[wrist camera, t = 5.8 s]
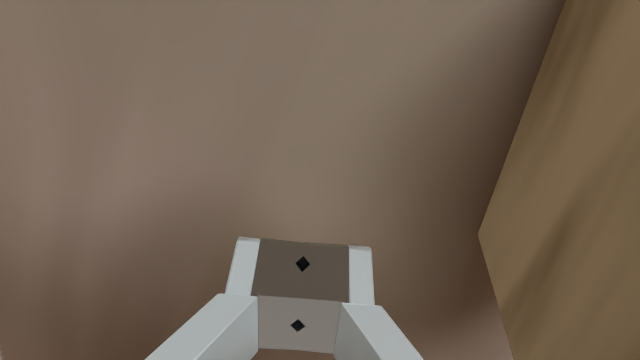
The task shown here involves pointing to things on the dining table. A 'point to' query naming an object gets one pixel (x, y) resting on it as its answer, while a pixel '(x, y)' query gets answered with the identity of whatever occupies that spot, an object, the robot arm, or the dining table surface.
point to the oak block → (573, 195)
